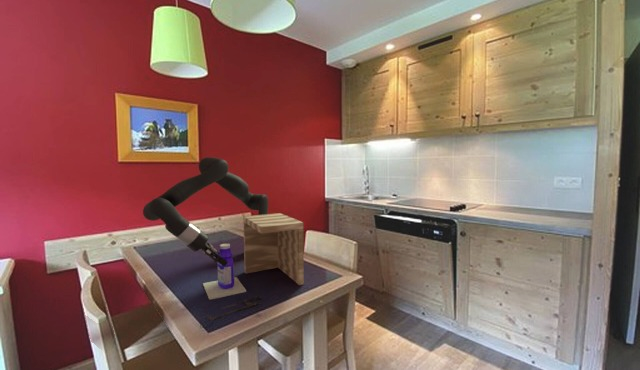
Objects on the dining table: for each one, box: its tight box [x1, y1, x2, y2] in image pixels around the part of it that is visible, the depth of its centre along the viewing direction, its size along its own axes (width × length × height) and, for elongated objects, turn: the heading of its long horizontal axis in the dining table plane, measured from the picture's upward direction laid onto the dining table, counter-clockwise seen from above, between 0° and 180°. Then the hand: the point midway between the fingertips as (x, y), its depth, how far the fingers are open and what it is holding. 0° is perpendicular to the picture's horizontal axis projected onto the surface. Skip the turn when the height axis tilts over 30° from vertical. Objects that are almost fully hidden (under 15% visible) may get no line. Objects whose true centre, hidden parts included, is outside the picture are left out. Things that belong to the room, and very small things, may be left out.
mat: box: [202, 276, 247, 300], centre depth 121 cm, size 16×14×1 cm
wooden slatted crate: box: [242, 212, 305, 286], centre depth 130 cm, size 26×18×26 cm
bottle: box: [216, 243, 235, 289], centre depth 121 cm, size 7×6×17 cm
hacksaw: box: [199, 295, 263, 329], centre depth 102 cm, size 24×10×2 cm, turn 124°
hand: (223, 261), depth 120 cm, fingers open, 8 cm apart
